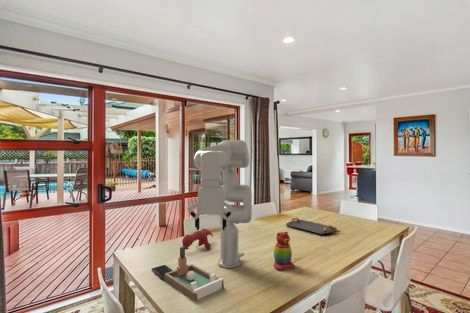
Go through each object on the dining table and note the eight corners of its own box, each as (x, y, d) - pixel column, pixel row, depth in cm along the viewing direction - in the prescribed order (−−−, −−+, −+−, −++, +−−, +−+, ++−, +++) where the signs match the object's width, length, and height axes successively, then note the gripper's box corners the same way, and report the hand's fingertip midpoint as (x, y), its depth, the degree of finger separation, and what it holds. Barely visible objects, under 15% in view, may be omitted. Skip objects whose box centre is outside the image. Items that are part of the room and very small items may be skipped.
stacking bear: (277, 271, 131) (277, 236, 130) (269, 263, 140) (269, 230, 140) (297, 268, 134) (297, 234, 134) (287, 261, 143) (287, 229, 143)
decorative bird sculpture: (216, 248, 174) (204, 230, 180) (224, 241, 171) (212, 222, 176) (188, 263, 150) (175, 241, 155) (197, 255, 147) (183, 232, 152)
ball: (191, 277, 122) (191, 268, 122) (197, 280, 119) (197, 271, 119) (184, 280, 119) (184, 271, 119) (189, 283, 116) (189, 274, 116)
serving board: (282, 226, 214) (282, 219, 214) (299, 222, 229) (299, 215, 229) (324, 238, 185) (324, 229, 185) (341, 232, 200) (341, 224, 200)
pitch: (192, 270, 132) (192, 260, 132) (223, 287, 114) (223, 276, 114) (164, 280, 121) (164, 269, 121) (194, 301, 104) (194, 288, 104)
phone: (163, 279, 120) (150, 268, 132) (163, 282, 120) (150, 270, 132) (178, 274, 125) (165, 264, 137) (178, 276, 125) (165, 266, 137)
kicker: (185, 271, 127) (185, 245, 127) (188, 273, 125) (188, 246, 125) (176, 275, 123) (176, 247, 123) (179, 276, 122) (179, 249, 122)
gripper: (233, 182, 102) (233, 226, 102) (189, 182, 102) (189, 226, 102) (233, 185, 94) (233, 232, 94) (186, 185, 94) (186, 232, 94)
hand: (210, 229), depth 98 cm, fingers open, 9 cm apart
